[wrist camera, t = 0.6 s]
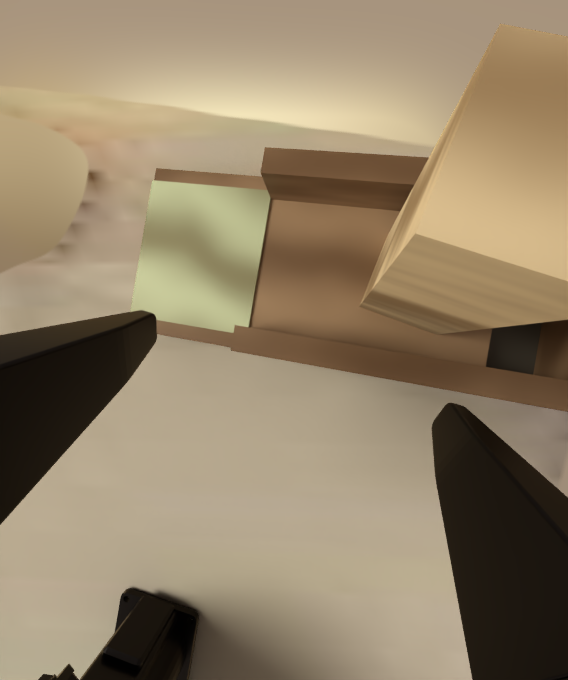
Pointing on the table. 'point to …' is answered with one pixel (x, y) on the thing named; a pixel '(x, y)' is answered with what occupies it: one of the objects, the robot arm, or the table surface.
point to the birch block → (488, 201)
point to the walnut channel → (318, 277)
